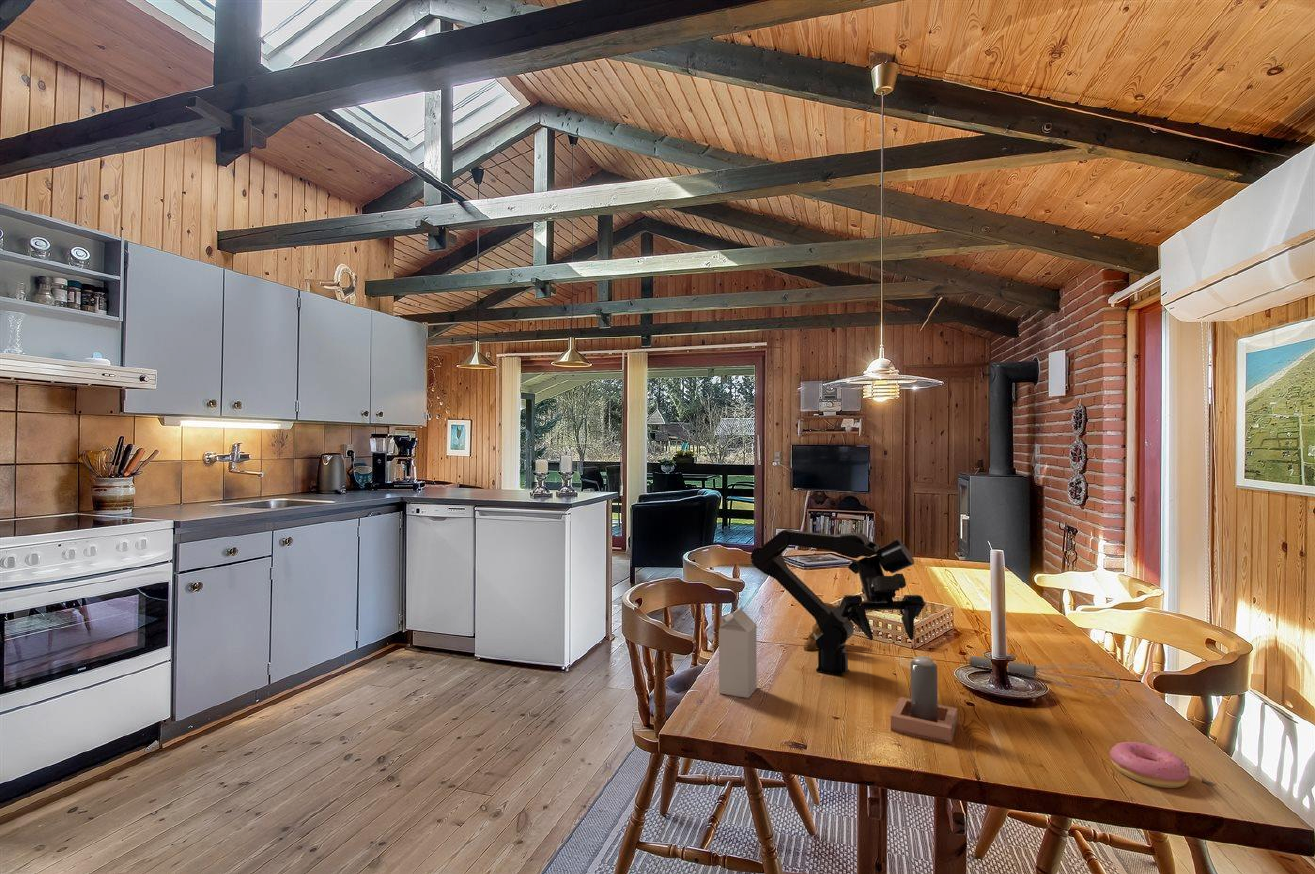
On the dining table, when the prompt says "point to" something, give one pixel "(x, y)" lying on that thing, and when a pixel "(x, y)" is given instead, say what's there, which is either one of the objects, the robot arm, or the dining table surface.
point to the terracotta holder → (924, 722)
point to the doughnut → (1149, 764)
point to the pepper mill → (924, 689)
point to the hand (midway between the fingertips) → (891, 639)
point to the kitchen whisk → (1031, 671)
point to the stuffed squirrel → (815, 634)
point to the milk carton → (738, 655)
